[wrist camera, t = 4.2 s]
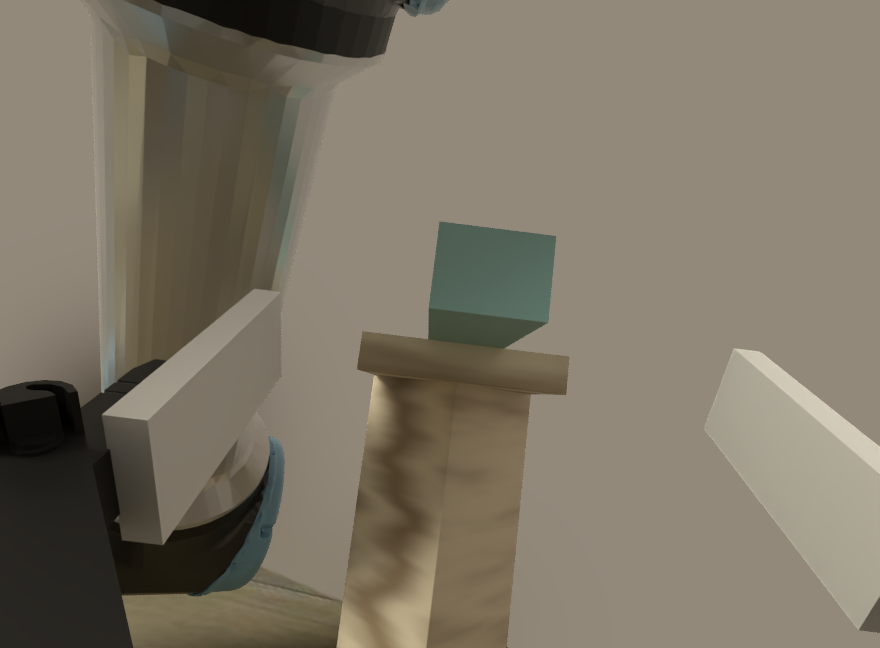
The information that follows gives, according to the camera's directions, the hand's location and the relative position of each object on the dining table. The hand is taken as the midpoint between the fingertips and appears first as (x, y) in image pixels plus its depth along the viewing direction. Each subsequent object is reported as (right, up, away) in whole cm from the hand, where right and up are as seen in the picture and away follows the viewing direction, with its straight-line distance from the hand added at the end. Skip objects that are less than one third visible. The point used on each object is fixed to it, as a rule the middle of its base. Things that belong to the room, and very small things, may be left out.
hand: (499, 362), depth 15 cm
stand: (-4, -31, +17) cm, 35 cm away
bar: (0, 0, +15) cm, 15 cm away
